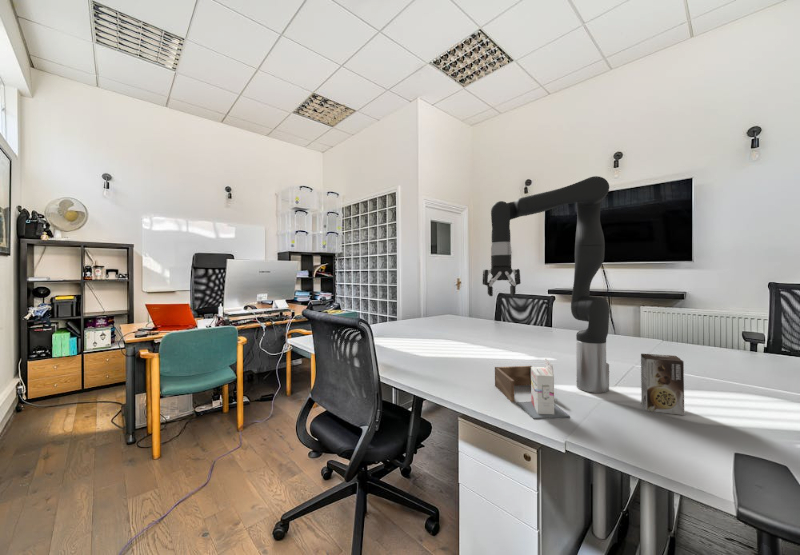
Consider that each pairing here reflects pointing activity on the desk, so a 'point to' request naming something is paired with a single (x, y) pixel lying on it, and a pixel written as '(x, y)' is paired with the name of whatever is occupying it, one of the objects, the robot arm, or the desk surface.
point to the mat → (533, 413)
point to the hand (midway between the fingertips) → (501, 295)
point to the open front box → (512, 379)
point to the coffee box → (662, 383)
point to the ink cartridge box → (543, 388)
